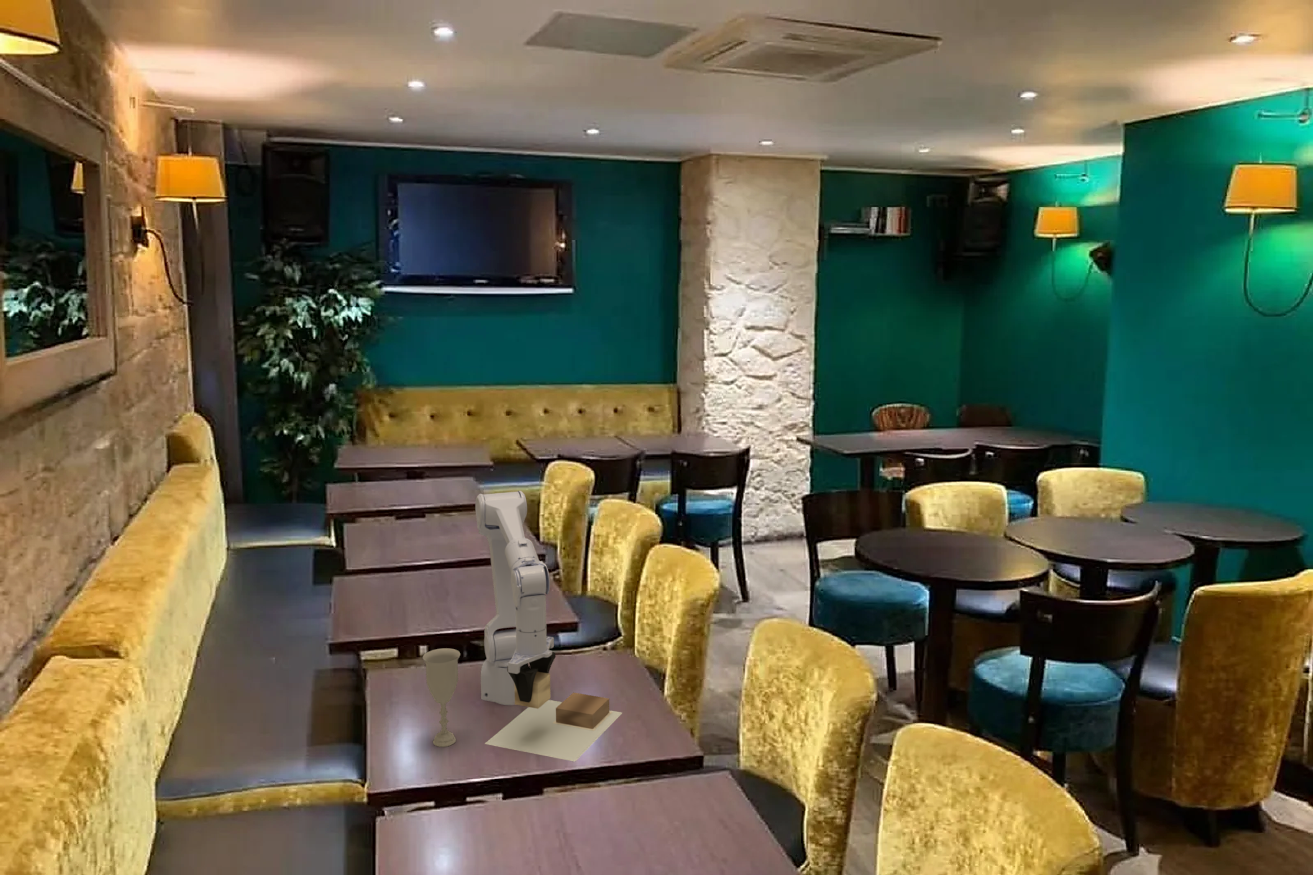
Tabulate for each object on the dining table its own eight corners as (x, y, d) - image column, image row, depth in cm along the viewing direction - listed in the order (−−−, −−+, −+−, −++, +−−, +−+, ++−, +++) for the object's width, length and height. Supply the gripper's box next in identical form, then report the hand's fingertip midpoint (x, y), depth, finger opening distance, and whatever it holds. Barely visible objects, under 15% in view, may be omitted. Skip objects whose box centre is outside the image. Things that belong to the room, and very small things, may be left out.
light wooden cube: (514, 704, 191) (514, 679, 190) (527, 694, 195) (527, 669, 194) (538, 708, 189) (537, 683, 188) (550, 698, 193) (550, 673, 193)
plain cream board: (484, 748, 190) (484, 743, 189) (539, 701, 210) (539, 697, 210) (575, 766, 183) (575, 761, 183) (622, 716, 203) (622, 712, 203)
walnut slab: (556, 722, 198) (555, 708, 198) (573, 706, 206) (573, 692, 205) (592, 729, 196) (592, 714, 195) (609, 712, 203) (609, 698, 202)
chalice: (453, 756, 186) (450, 664, 183) (419, 752, 188) (416, 661, 185) (468, 738, 193) (466, 649, 190) (435, 735, 195) (432, 647, 192)
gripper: (531, 643, 181) (532, 714, 184) (567, 618, 195) (568, 684, 197) (497, 638, 184) (499, 707, 186) (535, 613, 197) (536, 678, 200)
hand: (532, 695), depth 192 cm, fingers closed on light wooden cube, 5 cm apart
